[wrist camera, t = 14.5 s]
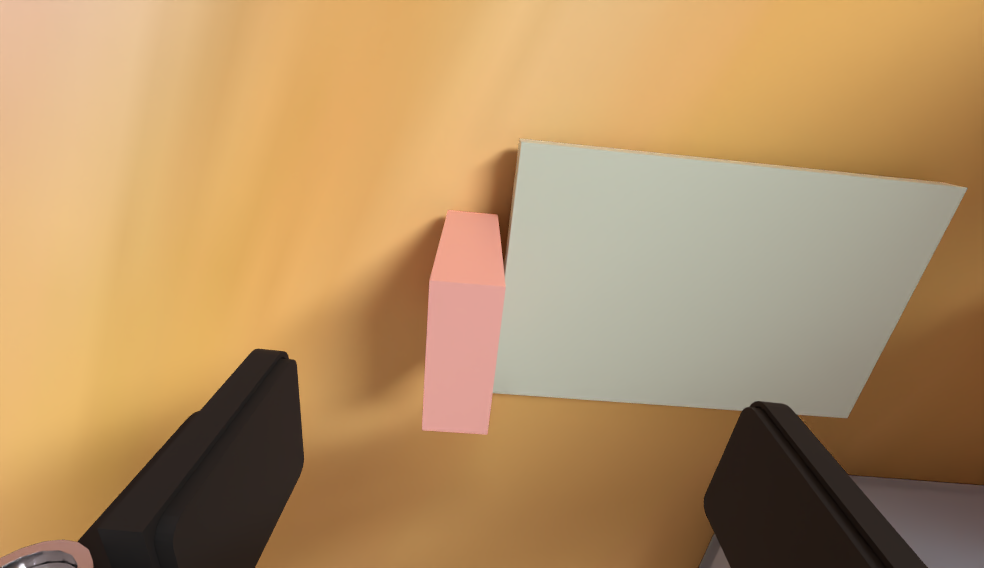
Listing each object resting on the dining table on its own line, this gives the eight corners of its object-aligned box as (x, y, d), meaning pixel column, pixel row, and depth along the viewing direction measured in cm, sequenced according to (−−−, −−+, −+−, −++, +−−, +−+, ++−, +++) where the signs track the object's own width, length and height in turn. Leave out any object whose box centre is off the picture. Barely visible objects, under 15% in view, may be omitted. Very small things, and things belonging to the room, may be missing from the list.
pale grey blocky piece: (454, 129, 18) (435, 162, 11) (925, 178, 19) (1190, 238, 12) (438, 366, 22) (418, 501, 15) (821, 394, 23) (969, 532, 16)
